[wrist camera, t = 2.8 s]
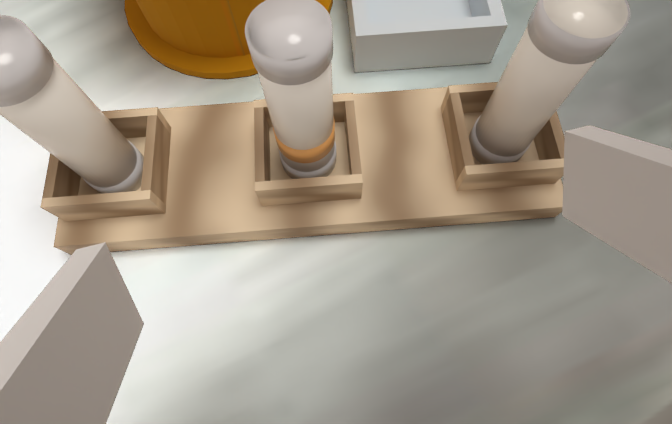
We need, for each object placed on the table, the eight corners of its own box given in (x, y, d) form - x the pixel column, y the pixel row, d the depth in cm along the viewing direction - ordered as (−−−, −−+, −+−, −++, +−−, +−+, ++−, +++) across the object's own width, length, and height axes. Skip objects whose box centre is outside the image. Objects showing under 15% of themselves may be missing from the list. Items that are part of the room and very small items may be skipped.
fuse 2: (516, 118, 31) (614, -29, 20) (529, 166, 30) (642, 36, 18) (463, 122, 31) (531, -23, 20) (473, 170, 30) (553, 43, 18)
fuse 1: (150, 146, 31) (38, 12, 19) (146, 195, 29) (23, 82, 18) (96, 150, 31) (-47, 18, 19) (89, 200, 29) (-69, 89, 18)
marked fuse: (334, 132, 31) (329, -9, 20) (338, 180, 29) (335, 59, 18) (280, 136, 31) (244, -3, 20) (282, 185, 29) (245, 65, 18)
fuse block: (522, 97, 34) (547, 57, 30) (555, 217, 30) (589, 191, 26) (90, 129, 34) (53, 93, 29) (71, 254, 30) (27, 234, 26)
